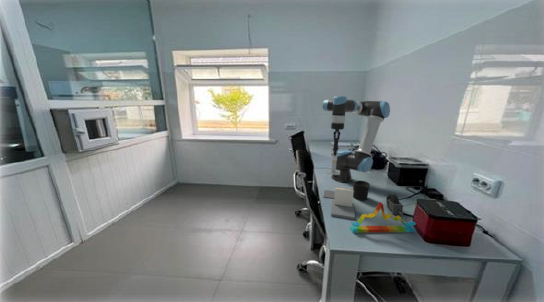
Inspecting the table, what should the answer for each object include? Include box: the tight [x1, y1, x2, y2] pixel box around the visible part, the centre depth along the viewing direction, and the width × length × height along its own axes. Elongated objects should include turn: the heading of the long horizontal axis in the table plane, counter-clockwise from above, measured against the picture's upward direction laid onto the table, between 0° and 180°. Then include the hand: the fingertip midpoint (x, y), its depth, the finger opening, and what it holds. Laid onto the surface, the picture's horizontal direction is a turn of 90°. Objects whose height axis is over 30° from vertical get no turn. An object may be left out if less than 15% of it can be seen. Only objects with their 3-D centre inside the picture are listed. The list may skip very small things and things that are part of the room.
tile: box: [333, 187, 354, 207], centre depth 121 cm, size 2×10×10 cm, turn 73°
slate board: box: [330, 199, 356, 221], centre depth 119 cm, size 16×12×2 cm
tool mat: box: [323, 189, 335, 200], centre depth 138 cm, size 11×9×1 cm
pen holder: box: [352, 180, 371, 201], centre depth 134 cm, size 9×9×10 cm
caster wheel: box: [385, 193, 404, 216], centre depth 117 cm, size 6×10×15 cm
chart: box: [349, 201, 417, 234], centre depth 99 cm, size 30×3×15 cm, turn 92°
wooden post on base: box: [326, 160, 340, 175], centre depth 132 cm, size 8×8×18 cm
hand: (334, 159), depth 132 cm, fingers closed on wooden post on base, 2 cm apart
